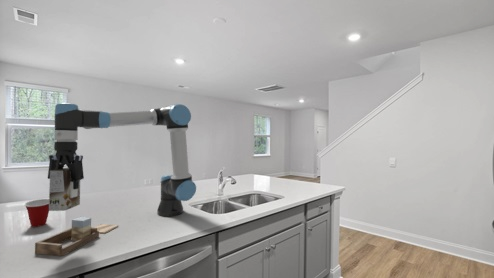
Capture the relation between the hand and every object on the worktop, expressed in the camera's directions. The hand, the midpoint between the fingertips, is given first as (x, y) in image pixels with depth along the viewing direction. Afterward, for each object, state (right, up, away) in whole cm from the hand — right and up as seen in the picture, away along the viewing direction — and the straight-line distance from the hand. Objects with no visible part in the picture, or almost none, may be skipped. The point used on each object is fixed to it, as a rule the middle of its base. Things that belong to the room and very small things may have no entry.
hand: (65, 196), depth 95 cm
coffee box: (0, -5, 0) cm, 5 cm away
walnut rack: (0, -21, +2) cm, 21 cm away
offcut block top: (+1, -15, +8) cm, 17 cm away
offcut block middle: (+1, -18, +8) cm, 20 cm away
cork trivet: (+3, -21, +19) cm, 28 cm away
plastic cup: (-32, -21, +23) cm, 45 cm away
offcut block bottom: (+1, -21, +8) cm, 22 cm away
